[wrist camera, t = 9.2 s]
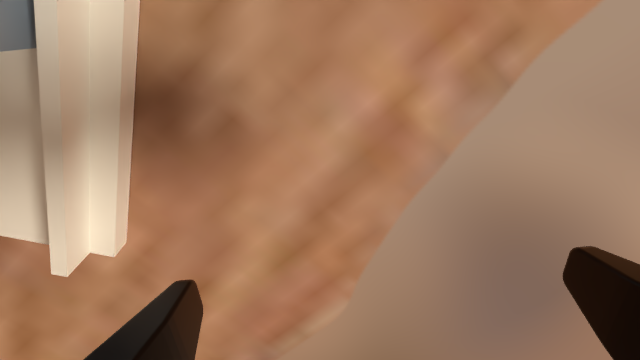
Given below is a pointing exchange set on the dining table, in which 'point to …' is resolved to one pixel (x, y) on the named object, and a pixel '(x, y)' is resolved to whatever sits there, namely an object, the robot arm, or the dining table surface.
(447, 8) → the dining table surface
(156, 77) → the dining table surface
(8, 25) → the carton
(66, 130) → the shelf
